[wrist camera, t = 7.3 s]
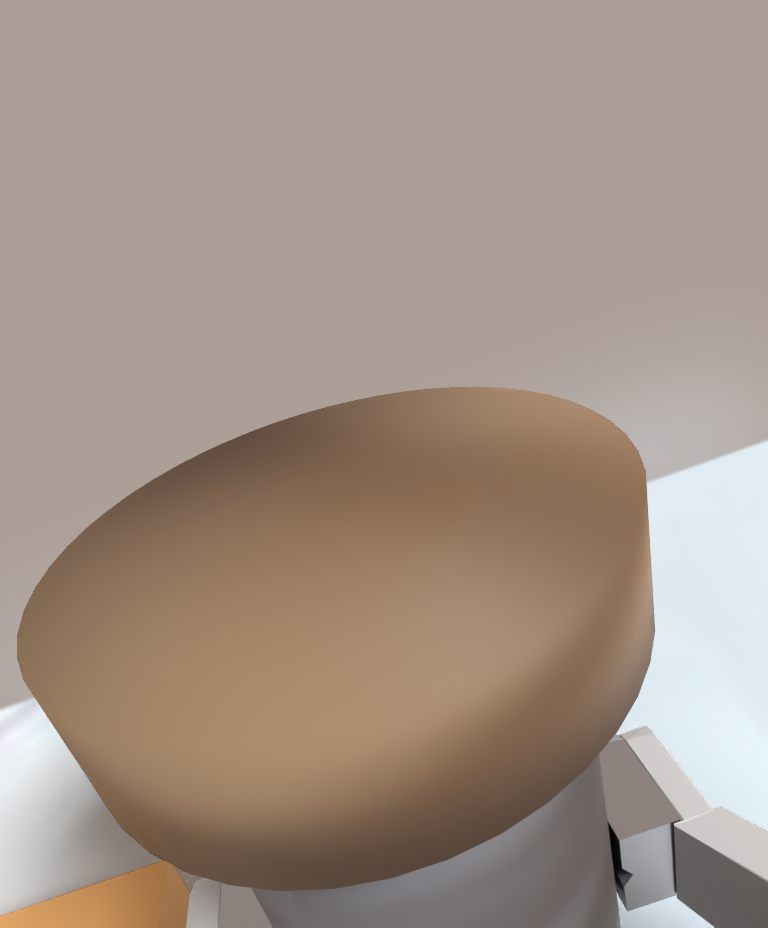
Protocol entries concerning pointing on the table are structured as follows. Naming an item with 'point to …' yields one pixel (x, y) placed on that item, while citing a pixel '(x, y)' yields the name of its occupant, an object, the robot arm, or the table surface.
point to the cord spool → (366, 659)
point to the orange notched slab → (114, 903)
